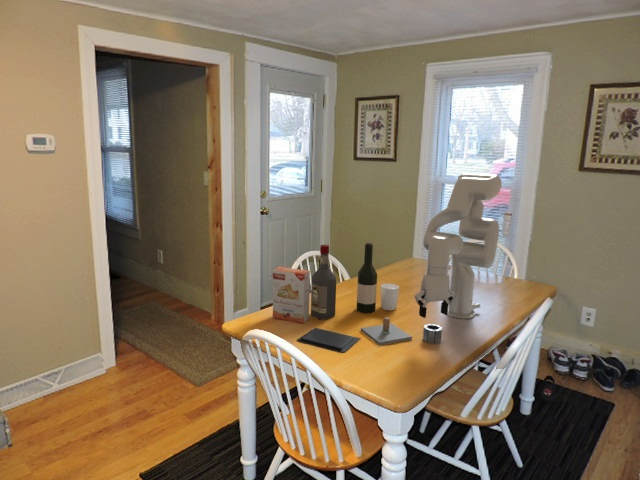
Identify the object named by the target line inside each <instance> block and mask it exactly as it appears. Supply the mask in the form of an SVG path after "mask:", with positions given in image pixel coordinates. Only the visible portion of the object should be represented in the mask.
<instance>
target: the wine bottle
mask: <svg viewBox="0 0 640 480" xmlns="http://www.w3.org/2000/svg"><path fill="white" fill-rule="evenodd" d="M373 250H374V245H373V243H372V242H370V241H369V242H365V244H364V256H363V257H364V260H363V264H362V266H361V267H360V269H359V270H358V272H357V287H356V288H357V289H356V290H357V291H356V312H357V313H360V314H373V313H375V312H376V304H377V287H378V273H377V270H376V269H375V267H374V265H373Z"/></svg>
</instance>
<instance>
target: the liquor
mask: <svg viewBox="0 0 640 480" xmlns="http://www.w3.org/2000/svg"><path fill="white" fill-rule="evenodd" d="M319 252H320V253H319V254H320V255H319V256H320V257H319V258H320V259H319V260H320V261H319V263H320V264H319V267H318V269H317V270H316V271H315V272H314V273H313V274H312V275H311V278H310V280H311V281H310V282H311V283H310V284H311V285H310V315H311V317H313V318H315V319H318V320H322V321H323V320H325V321H326V320H328V319H332V318H334V317H335V316H336V302H337V277H336V275H335V274H334V272H333V271H332V270H331V269H330V266H329V265H330V264H329V258H330V257H329V255H330V245H329V244H321V245H320V251H319Z"/></svg>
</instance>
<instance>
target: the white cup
mask: <svg viewBox="0 0 640 480" xmlns="http://www.w3.org/2000/svg"><path fill="white" fill-rule="evenodd" d="M399 292H400V286H399V285H398V284H395V283H383V284H381V285H380V308H381V309H382V310H385V311H395V310H397V307H398V306H397V304H398V301H399V294H400V293H399Z"/></svg>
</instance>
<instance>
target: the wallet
mask: <svg viewBox="0 0 640 480" xmlns="http://www.w3.org/2000/svg"><path fill="white" fill-rule="evenodd" d="M361 339H362V338H361V337H359V336H358V337H357V336H353V335H350V334H345V333H342V332H341V333H340V332H337V331H333V330H329V329H325V328H320V327H314V328H312V329H311V330H309V331H308V332H306V333H304V334H303V335H302V336H301V337H299V338H297V339H296V342H298V343H300V344H305V345H308V346H313V347H315V348H316V347H317V348H321V349H324V350H328V351H332V352H336V353H339V354H345V353H347V352H348V351H349V350H350V349H352V347H353V346H354V345H356V344H357V343H358V342H359V341H360V340H361Z"/></svg>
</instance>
